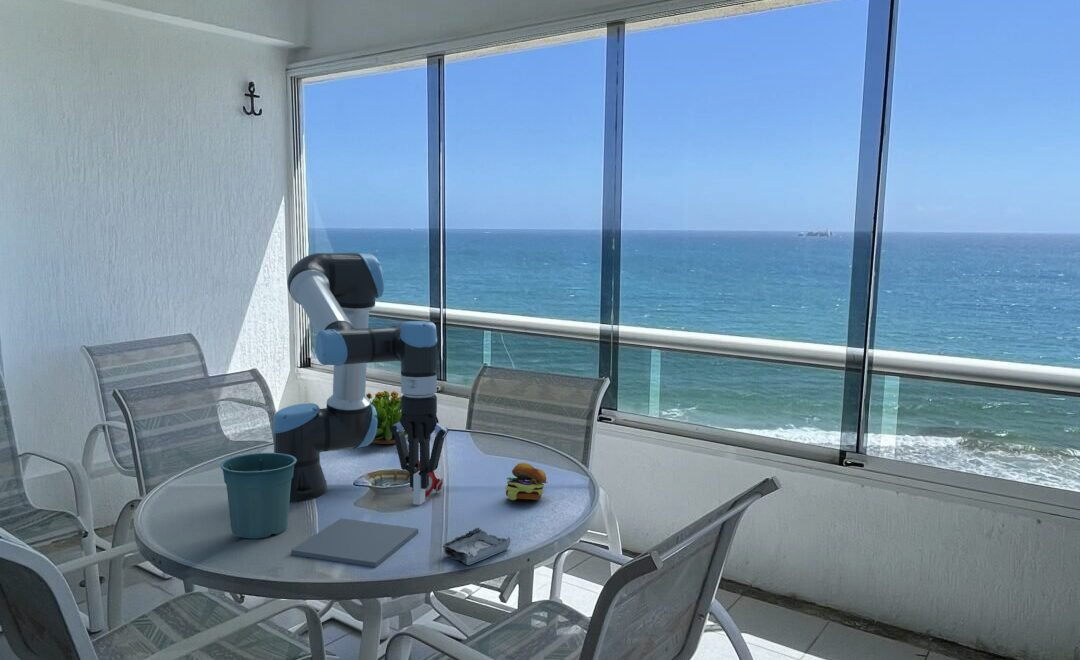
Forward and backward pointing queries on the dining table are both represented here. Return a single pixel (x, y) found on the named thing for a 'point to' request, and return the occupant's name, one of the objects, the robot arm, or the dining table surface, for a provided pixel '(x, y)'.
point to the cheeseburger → (526, 482)
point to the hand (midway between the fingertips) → (419, 502)
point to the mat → (356, 542)
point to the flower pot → (258, 493)
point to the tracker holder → (432, 483)
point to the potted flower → (386, 415)
